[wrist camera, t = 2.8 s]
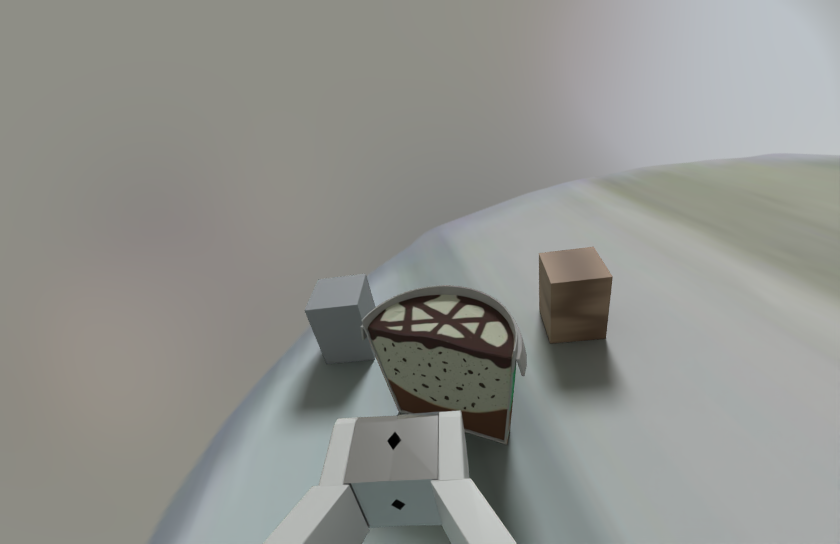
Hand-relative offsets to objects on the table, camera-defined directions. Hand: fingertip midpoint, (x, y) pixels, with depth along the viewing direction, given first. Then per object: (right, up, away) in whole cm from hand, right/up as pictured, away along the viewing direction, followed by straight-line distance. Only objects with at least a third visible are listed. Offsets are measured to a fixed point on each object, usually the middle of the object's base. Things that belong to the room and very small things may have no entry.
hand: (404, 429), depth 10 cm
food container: (+4, -7, +25) cm, 26 cm away
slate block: (-6, -4, +33) cm, 34 cm away
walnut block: (+15, -1, +30) cm, 34 cm away
